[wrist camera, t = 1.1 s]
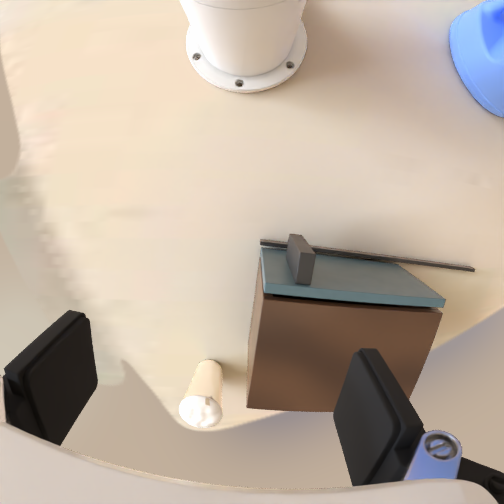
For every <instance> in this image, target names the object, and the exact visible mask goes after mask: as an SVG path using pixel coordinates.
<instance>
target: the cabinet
mask: <svg viewBox="0 0 504 504" xmlns="http://www.w3.org/2000/svg"><path fill="white" fill-rule="evenodd" d="M260 245H265V246H273V247H281V248H287V247H288V243H287V242H278V241H270V240H262V239H260ZM309 246H310V247H311V248H312V250H313V251H314V252H322V253H330V254H339V255H347V256H355V257H363V258H371V259H378V260H386V261H394V262H402V263H410V264H418V265H425V266H433V267H441V268H448V269H456V270H463V271H471V272H474V271H475V269H474V268H472V267H468V266H461V265H454V264H447V263H440V262H432V261H425V260H418V259H411V258H403V257H396V256H388V255H381V254H373V253H366V252H358V251H350V250H342V249H335V248H327V247H319V246H311V245H309ZM442 314H443V313H442V312H441V311H440V310H438V309H437V308H436V307H424V306H408V305H393V304H380V303H367V302H355V301H343V300H331V299H321V298H310V297H300V296H290V295H280V294H271V293H264V289H263V278H262V266H261V257H260V259H259V267H258V274H257V282H256V289H255V297H254V304H253V312H252V319H251V326H250V334H249V341H248V369H247V405H246V407H247V408H252V409H265V410H281V411H306V412H334V409H335V406H336V403H337V401H338V398H339V395H340V392H341V389H342V386H343V383H344V380H345V377H346V374H347V371H348V368H349V365H350V362H351V359H352V356H353V354H354V352H358V350H359V349H360V348H376V349H377V350H378V351H379V353H380V354H381V356H382V357H383V359H384V361H385V362H386V364H387V365H388V367H389V369H390V370H391V372H392V373H393V375H394V377H395V378H396V380H397V381H398V383H399V385H400V386H401V388H402V390H403V391H404V393H405V394H406V396H407V398H408V399H409V398H410V396H411V394H412V391H413V389H414V387H415V385H416V383H417V380H418V378H419V375H420V373H421V371H422V368H423V366H424V364H425V361H426V358H427V356H428V354H429V351H430V348H431V346H432V343H433V340H434V338H435V335H436V332H437V329H438V326H439V323H440V320H441V317H442Z"/></svg>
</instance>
